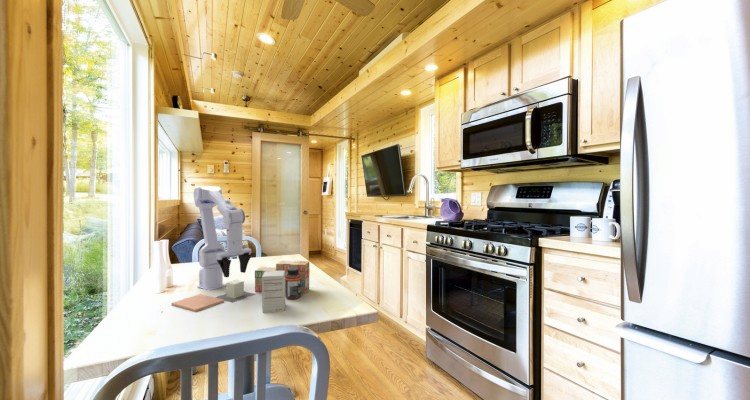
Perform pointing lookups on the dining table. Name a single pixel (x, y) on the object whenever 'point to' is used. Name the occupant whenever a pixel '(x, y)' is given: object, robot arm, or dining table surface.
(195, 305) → the plate
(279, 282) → the supplement box
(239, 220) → the robot arm
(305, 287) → the stack of blocks
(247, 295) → the mat
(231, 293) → the sage block
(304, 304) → the dining table surface
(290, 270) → the supplement bottle
